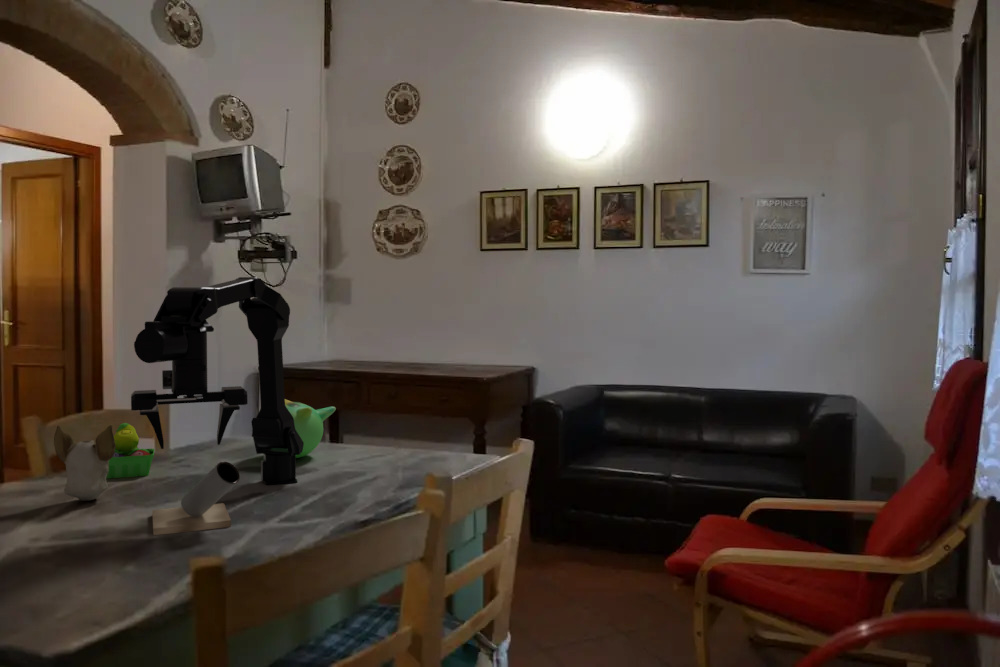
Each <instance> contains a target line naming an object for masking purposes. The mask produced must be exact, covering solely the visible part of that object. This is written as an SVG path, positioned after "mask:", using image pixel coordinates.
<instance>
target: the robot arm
mask: <svg viewBox="0 0 1000 667" xmlns="http://www.w3.org/2000/svg"><path fill="white" fill-rule="evenodd" d="M235 303H238V308H239V309H240V311H241V312H242V313H243V314H244V315H245V317H246V322H247V327H248V330H249V331H250V332H251V334H252V335H253V337H254V338H255V340H256V345H257V361H258V362H257V363H258V380H259V381H258V382H259V396H260V410H259V411H258V413H257V415H255V417H253V418H252V419H251V428H252V430H251V432H252V433H251V437H252V439H253V443H254V447H255V452H256V454H257V455H260V454H262V455H263V459H261V460H260V479H261V480H262V482H263V483H264V484H265V485H266V486H275V485H276V486H277V485H286V484H297V483H298V479H297V475H296V474H297V472H296V471H297V470H296V467H297V466H296V464H297V462H296V459H297V458H296V455H299V454H301V452H302V451H303V445H304V442H303V441H302V439H301V437H300V436H299V434H298V433H297V431H296V430H295V425H294V418H293V416H292V415H291V413H290V412H289V411H288V409H287V408H286V406H285V399H286V398H285V397H286V396H285V395H286V394H285V380H284V378H285V377H284V376H285V375H284V358H283V341H282V340H283V337H284V335H285V334H286V332H287V330H288V328H289V325H290V315H291V308H290V305H289V303H288V302H287V301H286V299H285V298H284V297H283V296H282V294H281V293H280V292H278V291H277V290H275V289H273V288H271V287H270V286H268V285H267V284H266V283H265V282H264V281H263V279H262V278H259V277H256V276H255V277H254V276H253V277H250V276H249V277H248V276H247V277H246V276H241V277H240V276H239V277H238V278H234V279H232V280H229V281H228V280H227V281H224V282H220V283H217V284H212V285H210V286H205V287H204V286H203V287H202V286H201V287H194V286H193V287H191V286H189V287H188V286H187V287H181V286H180V287H177V286H176V287H171V288H169V289H168V290H167V292H166V295H165V297H164V299H163V301H162V303H161V305H160V307H159V309H158V311H157V313H156V314H155V316H154V319H153V321H150V320H149V321H145V322H144V329H141V331H139V333H138V334H137V336H136V338H135V341H134V342H133V343H134V344H133V346H134V347H133V348H134V352H135V354H136V356H137V357H138V359H139V360H140V361H142V362H144V363H146V364H155V363H162V362H171V361H172V362H171V363H172V364H171V365H172V366H171V369H170V370H169V369H168V370H166V369H165V370H162V376H161V377H162V378H161V380H162V390H171V393H157V389H145V390H134V391H132V393H131V395H130V410H131V411H139V415H140V416H146V417H147V419H148V421H149V423H150V425H151V427H152V428H153V430H154V434H155V436H156V439H157V441H158V445H159V447H160V449H161V450H163V449H165V448H164V445H165V444H164V443H165V442H164V441H165V440H164V434H163V428H162V424H161V417H160V412H159V406H161V405H175V404H179V405H180V404H195V403H197V404H198V403H217V402H220V403H219V413H218V422H217V432H216V445H218V446H220V445H221V443H222V440H223V436H224V433H225V431H226V428H227V426H228V424H229V422H230V419H231V418H232V417H233V416H232V415H233V414H234V412H235V411H239V410H240V409H241V407H240V406H245V405H248V402H249V401H248V391H247V390H246V389H245V388H243V387H242V386H238V385H237V386H222V387H221V391H220V390H219V391H208V334H207V333H211V332H214V330H215V328H214V327H213V326H212V325H211V324H210V323H209V322H208V321H207V320H208V319H210V318H211V317H213V316H214V315H216V314H217V313H218V310H219V309H220V308H221V307H222V308H223V307H224V306H225V307H226V306H229V305H231V304H235ZM180 396H183V397H180Z"/></svg>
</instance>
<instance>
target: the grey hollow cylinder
mask: <svg viewBox="0 0 1000 667" xmlns="http://www.w3.org/2000/svg"><path fill="white" fill-rule="evenodd" d="M240 477H241V476H240V472H239V470H238V468H237V467H236V466H235V465H234V464H232V463H231V462H228V461H220V462H218V463H217V464H216V465H215V466H214V467H213V468H212V469H211V470H210V471H209V472H207V474H205V475H204V476H203V478H201V479H200V480H199V481H198V482H197V483H196V484H195V485H194V486H193V487H192V488H191V489H190V490H189V491H188V492H187V493H185V495H184V496H183V497H182V498H181V501H180V506H181V507H182V508H183V510H184V511H185V512H186V513H187V514H188V515H190V516H192V517H200V516H202V515H203V514H204V513H205V512H206V511H207V510H208V509H209V508H211V507H212V506H213V505H214V504H217V502H218V501H219V500H220V499H221V498H222V497H223V496H224V495H226V494H227V493H228V492H229V491H230V490H231V489H232V488H233V487H234V486H236V484H237V483H238V482H239V481H240Z"/></svg>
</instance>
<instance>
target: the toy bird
mask: <svg viewBox="0 0 1000 667" xmlns="http://www.w3.org/2000/svg"><path fill="white" fill-rule="evenodd" d="M285 406H286V408H287V409H288V411H289V412H290V413H291V415H292V416H293V418H294V425H295V430H296V431H297V433H298V434H299V436H300V437H301V439H302V441H303V442H304V445H303V451H302V452H301V454H299V455H296V459H300V458H302V457H305V456H307V455H309V454H311V453H312V452H314V450H315V449H316V448H317V447H318V446H319V445H320V443H321V440H322V438H323V435H324V421H326V420H327V419H328V418H329V417H330V416H331V415H333V414H334V412H336V409H337V408H336V407H335V406H327V407H324V408H317V409H315V408H313V407H312V406H310V405H307V404H305V403H302V402H300V401H291V400H288V399H286V398H285Z"/></svg>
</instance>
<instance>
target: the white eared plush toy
mask: <svg viewBox="0 0 1000 667" xmlns="http://www.w3.org/2000/svg"><path fill="white" fill-rule="evenodd" d="M53 438H54V439H53V447H54V451H55V453H56V456H57V457H58V458H59V460H60V461H61V462H63V463H64V464H65V471H66V474H67V476H66V477H67V479H66V484H65V486H64V489H63V492H64V494H65V495H67V496H70V497H73V498H76V499H77V500H79V501H83V502H85V501H90V502H91V501H93V500H95V499H98V498H99V497H100V496H101V495H102V494H103V493H104V492H106V491H107V490H109V485H108V483H107V478H106V477H107V473H108V468H109V460H110V459H111V458H112V457H113V455H114V454H115V447H116V445H115V440H114V433H113V424H109V425H108V426H107V427H106V428H105V429H104V430H103V431H102V432H101V433H99V434H97V436H96V437H95V440H93V439H90V440H89V439H87V440H80V441H78V442H75V440H74V437H72V436H71V435H70V434H68V433H67V432H66V431H64V430H63V429H62V428H61V426H60V425H57V426H56V430H55V433H54V437H53Z"/></svg>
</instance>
